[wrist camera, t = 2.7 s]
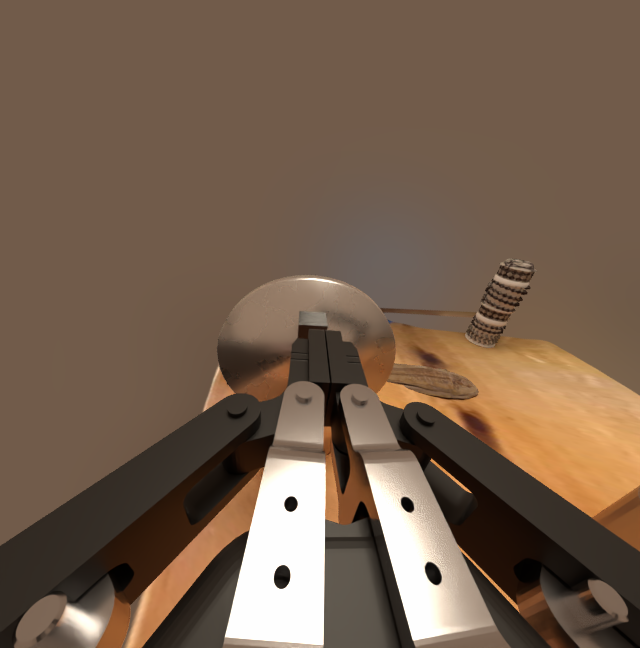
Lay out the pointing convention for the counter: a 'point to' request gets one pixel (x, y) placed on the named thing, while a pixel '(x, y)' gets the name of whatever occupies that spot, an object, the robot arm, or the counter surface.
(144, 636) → the counter surface
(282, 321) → the cooker lid
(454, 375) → the fish fossil
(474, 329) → the decorative candle
